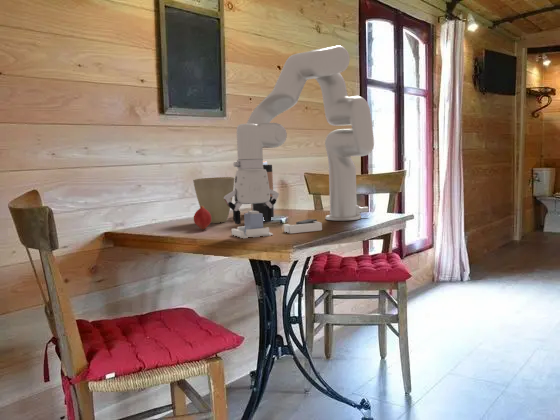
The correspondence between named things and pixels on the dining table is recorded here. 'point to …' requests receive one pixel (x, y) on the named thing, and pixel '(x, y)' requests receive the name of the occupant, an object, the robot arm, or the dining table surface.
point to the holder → (250, 232)
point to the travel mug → (261, 206)
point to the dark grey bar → (306, 221)
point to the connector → (253, 220)
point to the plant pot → (214, 196)
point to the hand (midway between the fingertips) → (252, 222)
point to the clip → (303, 227)
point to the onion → (202, 218)
